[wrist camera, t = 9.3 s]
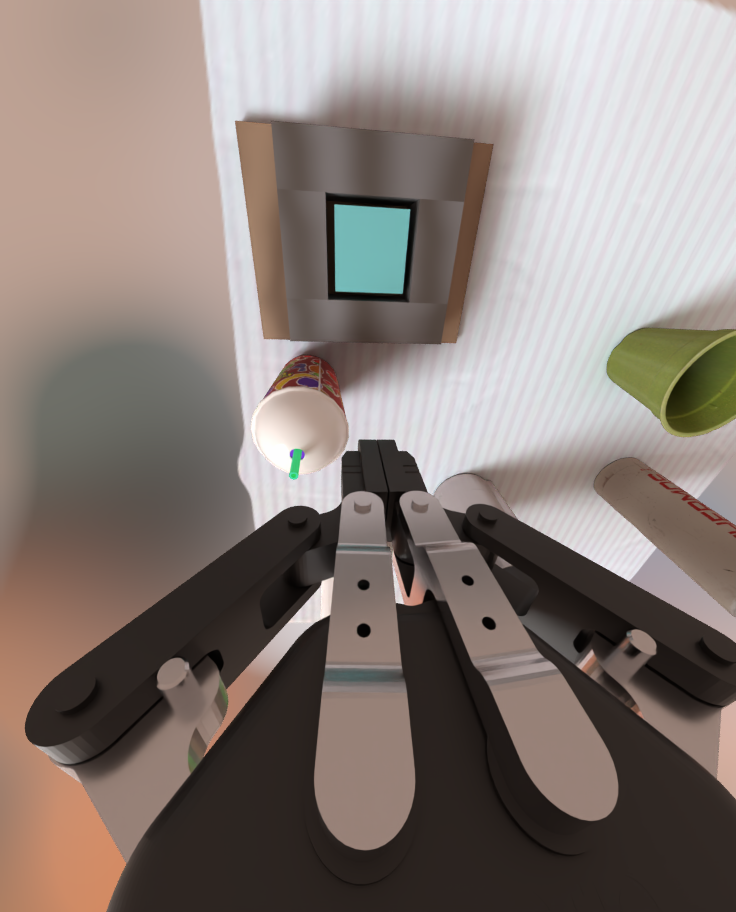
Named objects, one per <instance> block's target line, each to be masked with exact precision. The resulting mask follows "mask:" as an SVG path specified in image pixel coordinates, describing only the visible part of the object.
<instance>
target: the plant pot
mask: <svg viewBox="0 0 736 912" xmlns="http://www.w3.org/2000/svg"><path fill="white" fill-rule="evenodd" d="M607 374H608V376H609V378H610V379H611V380H612V381H613V382H614V383H615V384H617V385H618V386H619V387H621V388H622V389H623V390H625V391H626V392H627V393H629V394H630V395H631V396H633V397H634V398H635V399H637V400H638V401H639V402H641V403H642V404H643V405H645V406H646V407H647V408H648V409H650V410H651V412H652V413H653V414H654V415H655V416H656V417H657V418H658V419H660V421H661V424H662V426H663V427H664V429H665V430H666V431H667V432H669V433H670V434H672V435H675V436H679V437H693V436H698V435H703V434H706V433H709V432H711V431H713V430H716V429H718V428H720V427H722V426H724V425H726V424H727V423H729V422H731V421H732V420H734V419H735V418H736V329H723V330H717V331H708V330H685V329H662V328H643V329H639V330H637V331H634V332H633V333H631V334H629V335H628V336H626V337H625V338H624V339H623V341H622V342H621V343H620V344H619V345H618V346H617V347H616V348H615V349H614V350H613V351H612V353H611V355H610V357H609V359H608V363H607Z"/></svg>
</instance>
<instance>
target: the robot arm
mask: <svg viewBox="0 0 736 912" xmlns="http://www.w3.org/2000/svg"><path fill="white" fill-rule="evenodd" d="M341 495H342V502H341V504H340V505H339V506H338V507H337V508H335V509H334V510H332V511H330V512H327V513H323V514H319V513H318V512H317V511H316V510H314V509H313V508H310V507H307V506H294V507H290V508H287V509H285V510H283V511H282V512H280V513H279V514H278V515H276V516H275V517H273V518H272V519H271V520H269V521H268V522H267V523H265V524H264V525H263V526H261V527H260V528H258V529H257V530H256V531H254V532H253V533H252V534H250V535H249V536H248V537H246V538H245V539H243V540H242V541H241V542H239V543H238V544H237V545H235V546H234V547H232V548H231V549H230V550H228V551H227V552H226V553H224V554H223V555H221V556H220V557H219V558H217V559H216V560H215V561H213V562H212V563H210V564H209V565H208V566H206V567H205V568H204V569H203V570H201V571H200V572H198V573H197V574H195V575H194V576H193V577H191V578H190V579H189V580H187V581H186V582H185V583H183V584H182V585H181V586H179V587H178V588H176V589H175V590H174V591H172V592H171V593H169V594H168V595H167V596H166V597H164V598H163V599H161V600H160V601H158V602H157V603H156V604H154V605H153V606H152V607H150V608H149V609H148V610H146V611H145V612H143V613H142V614H141V615H139V616H138V617H137V618H135V619H134V620H132V621H131V622H130V623H128V624H127V625H126V626H124V627H123V628H122V629H120V630H119V631H117V632H116V633H115V634H113V635H112V636H111V637H109V638H108V639H106V640H105V641H104V642H102V643H101V644H100V645H98V646H97V647H96V648H94V649H93V650H92V651H90V652H89V653H87V654H86V655H84V656H83V657H82V658H80V659H79V660H78V661H76V662H75V663H74V664H72V665H71V666H70V667H68V668H67V669H65V670H64V671H63V672H61V673H60V674H59V675H58V676H56V677H55V678H54V679H53V680H52V681H51V682H50V683H49V684H48V685H47V686H46V687H45V688H44V689H43V690H42V692H41V693H40V694H39V695H38V697H37V698H36V699H35V701H34V703H33V705H32V706H31V708H30V710H29V712H28V715H27V718H26V722H25V733H26V736H27V738H28V740H29V741H30V742H31V743H32V744H34V745H35V746H36V747H38V748H39V749H41V750H42V751H43V752H45V753H46V754H48V756H49V758H50V760H51V761H52V762H53V763H54V764H55V765H56V766H58V767H59V768H60V769H62V770H63V771H65V772H66V773H67V774H69V775H70V776H72V777H73V778H74V779H76V780H77V781H79V782H80V783H82V785H83V787H84V788H85V790H86V792H87V794H88V796H89V797H90V799H91V801H92V803H93V804H94V806H95V808H96V810H97V811H98V813H99V815H100V817H101V819H102V821H103V822H104V824H105V826H106V828H107V830H108V831H109V833H110V835H111V837H112V839H113V840H114V842H115V844H116V846H117V848H118V849H119V851H120V853H121V855H122V856H123V858H124V860H125V862H126V866H125V868H124V870H123V872H122V874H121V877H120V879H119V881H118V883H117V886H116V888H115V890H114V893H113V895H112V898H111V900H110V903H109V906H108V909H107V912H736V799H735V798H734V797H733V796H732V795H731V794H730V793H729V791H728V790H727V789H726V788H725V787H724V786H723V785H722V784H721V783H720V782H719V781H718V780H717V768H718V752H719V751H718V750H719V737H720V720H721V710H722V709H723V708H725V707H727V706H728V705H729V704H731V703H732V702H734V701H736V643H735V642H733V641H732V640H731V639H730V638H728V637H727V636H725V635H724V634H722V633H720V632H719V631H717V630H715V629H713V628H712V627H710V626H708V625H706V624H704V623H703V622H701V621H699V620H697V619H695V618H694V617H692V616H690V615H688V614H686V613H685V612H683V611H681V610H679V609H677V608H676V607H674V606H672V605H670V604H668V603H667V602H665V601H663V600H661V599H659V598H658V597H656V596H654V595H652V594H650V593H649V592H647V591H645V590H643V589H642V588H640V587H638V586H636V585H634V584H633V583H631V582H629V581H627V580H625V579H624V578H622V577H620V576H618V575H616V574H615V573H613V572H611V571H609V570H607V569H606V568H604V567H602V566H600V565H598V564H597V563H595V562H593V561H591V560H589V559H588V558H586V557H584V556H582V555H580V554H579V553H577V552H575V551H573V550H571V549H570V548H568V547H566V546H564V545H562V544H561V543H559V542H557V541H555V540H553V539H552V538H550V537H548V536H546V535H544V534H543V533H541V532H539V531H537V530H535V529H534V528H532V527H530V526H528V525H526V524H525V523H523V522H521V521H519V520H518V519H517V518H516V516H515V515H514V513H513V512H512V510H511V509H510V508H509V506H508V505H507V503H506V502H505V500H504V499H503V497H502V496H501V495H500V493H499V492H498V490H497V489H496V487H495V486H494V485H493V483H492V482H491V481H485V480H483V479H482V478H481V477H479V476H477V475H473V474H460V475H456V476H453V477H451V478H449V479H447V480H446V481H444V482H443V483H442V484H441V485H440V486H439V487H438V488H437V490H436V491H435V493H434V496H433V495H431V494H429V493H428V492H427V489H426V487H425V484H424V482H423V479H422V477H421V474H420V473H419V469H418V467H417V464H416V462H415V459H414V457H412V456H411V455H410V454H409V453H408V452H407V451H398V449H397V446H396V443H395V440H377V441H376V440H359V441H358V451H346V453H345V454H344V455H343V457H342V471H341ZM388 541H392V545H393V551H392V559H391V551H390V547H387V542H388ZM392 562H393V565H394V569H395V572H396V576H397V580H398V583H399V587H400V590H401V594H402V597H403V601H404V604H398V603H396V602H395V591H394V581H393V570H392ZM332 577H334V581H333V591H332V602H331V613H330V615H329V616H327V617H325V618H322V619H321V620H319V621H318V622H316V623H314V624H313V625H312V626H310V627H309V628H308V629H307V630H306V631H305V632H304V633H303V634H302V635H301V636H300V637H299V638H298V639H297V640H296V641H295V643H294V644H293V645H292V646H291V648H290V649H289V650H288V651H287V653H286V654H285V655H284V656H283V658H282V659H281V660H280V661H279V663H278V664H277V665H276V667H275V668H274V669H273V670H272V672H271V673H270V674H269V676H268V677H267V678H266V679H265V680H264V682H263V683H262V684H261V685H260V687H259V688H258V689H257V691H256V692H255V693H254V695H253V696H252V697H251V698H250V699H249V701H248V702H247V703H246V704H245V706H244V707H243V708H242V710H241V711H240V712H239V713H238V715H237V716H236V717H235V718H234V720H233V721H232V722H231V723H230V725H229V726H228V727H227V728H226V730H225V731H224V732H223V734H222V735H221V736H220V737H219V739H218V740H217V741H216V742H215V744H214V745H213V746H212V748H211V749H210V750H209V751H208V753H207V754H206V755H205V756H204V754H205V752H206V749H207V747H208V745H209V743H210V741H211V739H212V738H213V736H214V735H215V733H216V732H217V730H218V729H219V728H220V726H221V724H222V722H223V720H224V717H225V715H226V712H227V708H228V694H227V690H226V689H227V688H228V687H229V686H230V685H231V684H232V683H233V682H234V681H235V680H236V678H237V677H238V676H239V675H240V674H241V673H242V672H243V671H244V670H245V669H246V667H247V666H248V665H249V664H250V663H251V662H252V661H253V660H254V659H255V658H256V657H257V655H258V654H259V653H260V652H261V651H262V650H263V649H264V648H265V647H266V646H267V644H268V643H269V642H270V641H271V640H272V639H273V638H274V637H275V635H276V634H277V633H278V632H279V631H280V630H281V629H282V628H283V627H284V626H285V624H287V623H288V621H289V620H290V619H291V618H292V617H293V616H294V615H295V614H296V613H297V612H298V610H299V609H300V608H301V607H302V606H303V605H304V604H305V603H306V602H307V601H308V600H309V598H310V597H311V596H312V595H313V594H314V593H315V592H316V591H317V590H318V588H319V587H320V585H321V583H322V581H324V580H327V579H329V578H332Z"/></svg>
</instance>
